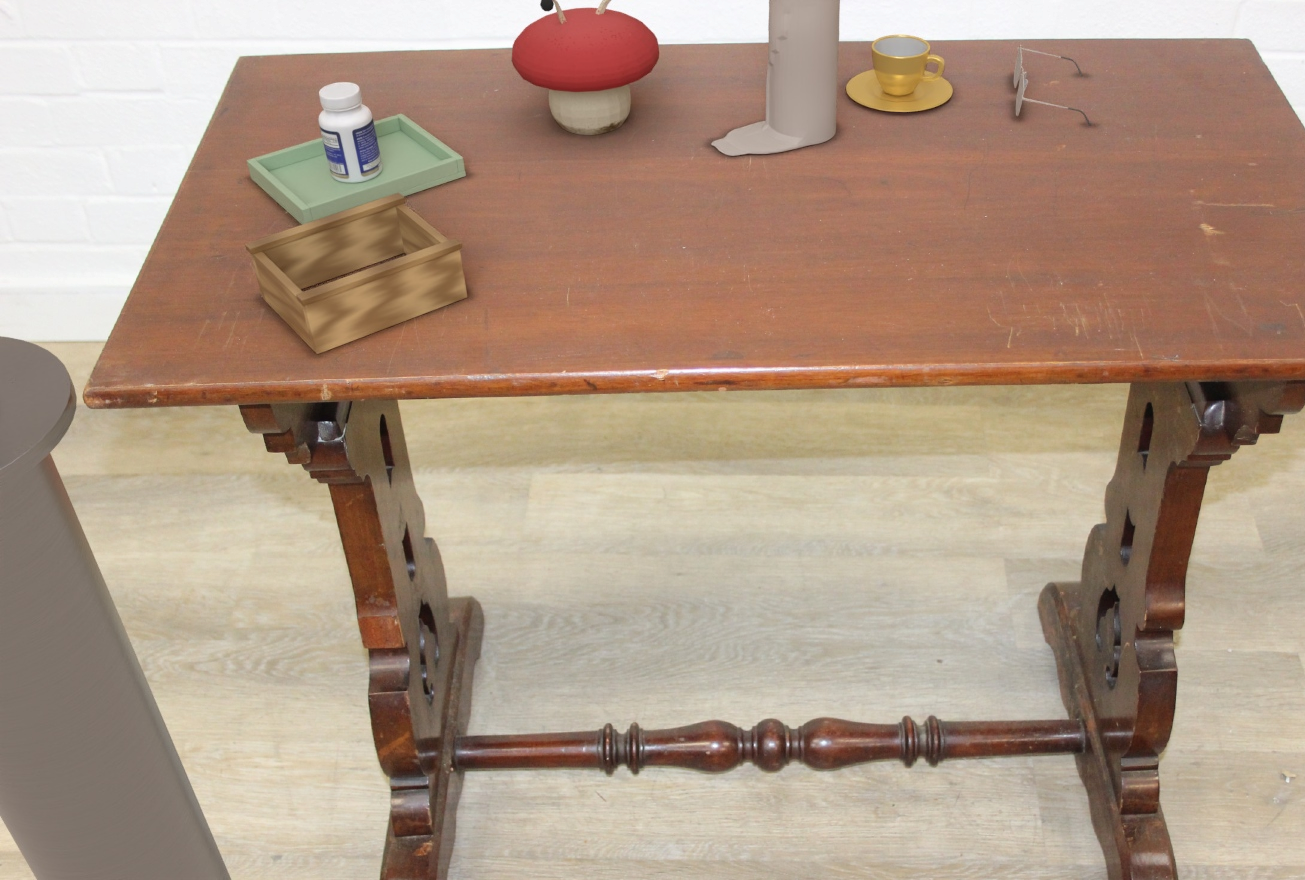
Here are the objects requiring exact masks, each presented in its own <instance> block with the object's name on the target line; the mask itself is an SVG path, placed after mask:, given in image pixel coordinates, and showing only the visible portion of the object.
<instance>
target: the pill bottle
mask: <svg viewBox="0 0 1305 880" xmlns="http://www.w3.org/2000/svg"><path fill="white" fill-rule="evenodd" d="M318 91H319V92H318V96H319V102H320V106H321V108H322V109H323V110H321V112H320V113H319V115H318V127H319V131H320V135H321V138H322V139H323V144H324V148H325V152H326V156H327V160H328V164H329V169H330V172H331V175H332V177H333V178H334V179H336V180H338V181H340V182H345V183H358V182H364V181H367V180H370V179H372V178H374V177H376V176H377V175H379V174H380V173H381V171H382V168H383V166H382V160H381V155H380V151H379V146H378V141H377V136H376V132H375V126H374V119H373V118H374V117H373V113H372V112H371V109H370V108H369V107H368V106H366V105H365V104H363V98H362V92H361V89H360V86H359V85H358V84H356V83H354V82H349V81H340V82H339V81H338V82H333V83H330V84H327V85H325V86H322V87H321V88H320V89H319V90H318Z"/></svg>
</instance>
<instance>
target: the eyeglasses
mask: <svg viewBox="0 0 1305 880" xmlns="http://www.w3.org/2000/svg"><path fill="white" fill-rule="evenodd" d="M1016 50H1017V55H1016V60H1015V65H1014V66H1015V67H1014V72H1013V87H1014V89H1017V92H1016V101H1015V116H1016V117H1019V115H1020V112H1021V108H1022V104H1023V101H1024V102H1025V101H1026V102H1031V103H1037V104H1041V105H1047V106H1050V107H1057V108H1061V109H1067V110H1070V111H1076V112H1080V113H1081V114H1083V116H1084V119H1085V121H1086V123H1087V125H1088V126H1092V123H1091V122H1090V120H1089V118H1088V117H1087V115H1086V114H1085V112H1084V111H1082V110H1081V109H1078V108H1074V107H1068V106H1064V105H1063V106H1062V105H1060V104H1059V105H1058V104H1053V103H1049V102H1045V101H1040V100H1035V99H1031V98H1026V97H1025V96H1024V95H1025V91H1026V89H1027V86H1028V85H1029V80H1028V79H1027V75H1028V71H1024V68H1023V54H1022V51H1026V52H1030V53H1036V54H1041V55H1045V56H1052V57H1056V58H1060V59H1064V60H1068V61H1071V62H1072V63H1074V65H1075V67H1076V69H1077V71H1078V74H1079V75H1080V76H1081V77H1082V76H1084V74H1083V73H1082V71H1081V69H1080V67H1079V65H1078V64H1077V62H1076V61H1075V59H1073V58H1070V57H1066V56H1060V55H1056V54H1051V53H1047V52H1044V51H1038V50H1034V49H1029V48H1025V47H1022V45H1021V44H1019V45H1018V46H1017V49H1016ZM1017 87H1018V88H1017Z"/></svg>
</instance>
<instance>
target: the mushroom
mask: <svg viewBox="0 0 1305 880" xmlns="http://www.w3.org/2000/svg"><path fill="white" fill-rule="evenodd" d="M611 1H612V0H601V2H600V4H599V6H598V7H574V8H569V9H564V10H562V8H561V6H560V4H559V2H558V1H557V0H540V4H539V5H540V8H541V10H543V11H544V12H551V11H552V10H553V9H554V7H555V10H556V11H555V12H553V13H549V14H546V15H544V16H542V17H540V18H538V19H536V20H535V21H533V22H531V23H529V24H528V25H527V26H525V28H524V29H522V31H521V32H520V33H519V35H517V37H516V38H515V40H514V41H513V44H512V50H511V64H512V66H513V68H514V69H515V71H516V72H517V74H518V75H519V76H520V78H522V80H524V81H526V82H528V83H530V84H532V85H533V86H536V87H540V88H543V89H546V90H548V98H547V99H548V105H549V109H550V112H551V117H552V118H553V119H554V120H555V121H556V123H557V124H558V125H559V126H560V128H562V129H563V130H564V131H566V132H568V133H572V134H576V135H582V136H583V135H585V136H592V135H593V136H594V135H595V136H596V135H602V134H606V133H610V132H613V131H615V130H617V129H618V128H620V127H622V125H623V124H624V122H625V121H626V120H627V118H628V116H629V114H630V113H631V112H630V111H631V104H632V97H631V86H630V84H633V83H635V82H638V81H640V80H642V79H643V78H644V77H646V76H647V75H649V74H650V73H652V71H653V69H654V68H655V66H656V65H657V63H658V62H659V59H660V47H659V40H658V38H657V36H656V34H655V33H654V32H653V31H652V30H651V29H650V28H649V27H648V26H647V25H646V24H645V23H644V22H643V21H641V20H639V19H638V18H636V17H634V16H631V15H629V14H626V13H625V12H621V11H618V10H614V9H609V8H607V7H608V6H609V4H610V3H611Z"/></svg>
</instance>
